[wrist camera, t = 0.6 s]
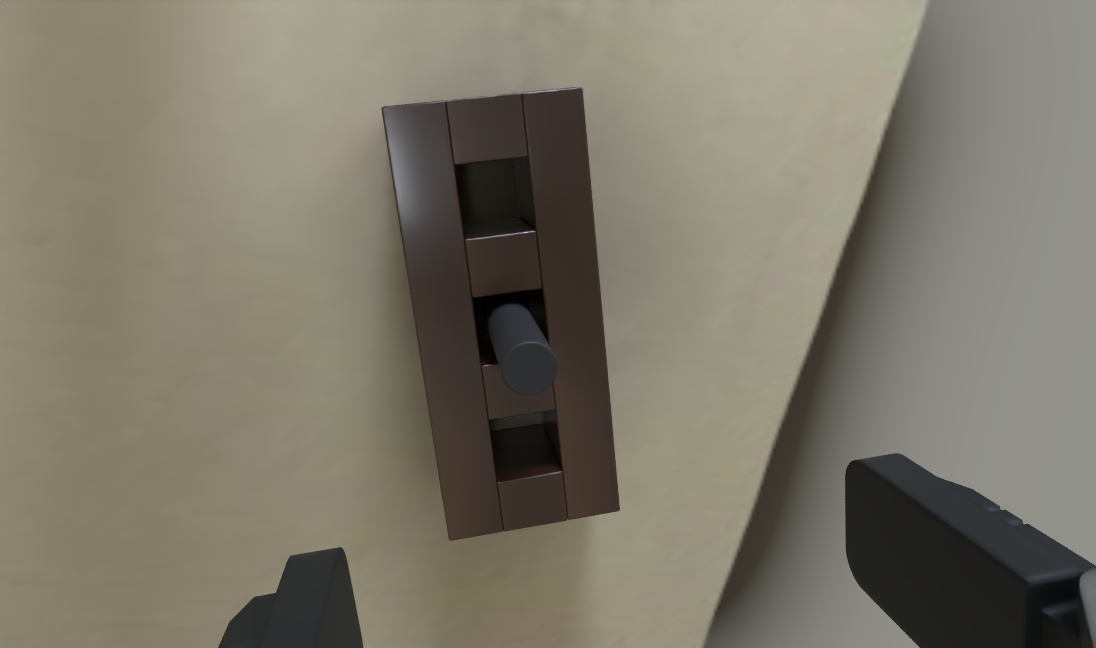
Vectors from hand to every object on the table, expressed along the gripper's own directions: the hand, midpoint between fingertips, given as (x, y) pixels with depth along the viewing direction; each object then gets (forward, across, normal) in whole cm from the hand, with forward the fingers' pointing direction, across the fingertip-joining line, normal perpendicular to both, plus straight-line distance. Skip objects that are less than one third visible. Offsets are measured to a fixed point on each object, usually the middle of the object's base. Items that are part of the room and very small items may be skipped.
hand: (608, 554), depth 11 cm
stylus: (+26, 0, +1) cm, 26 cm away
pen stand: (+26, 0, +1) cm, 26 cm away
